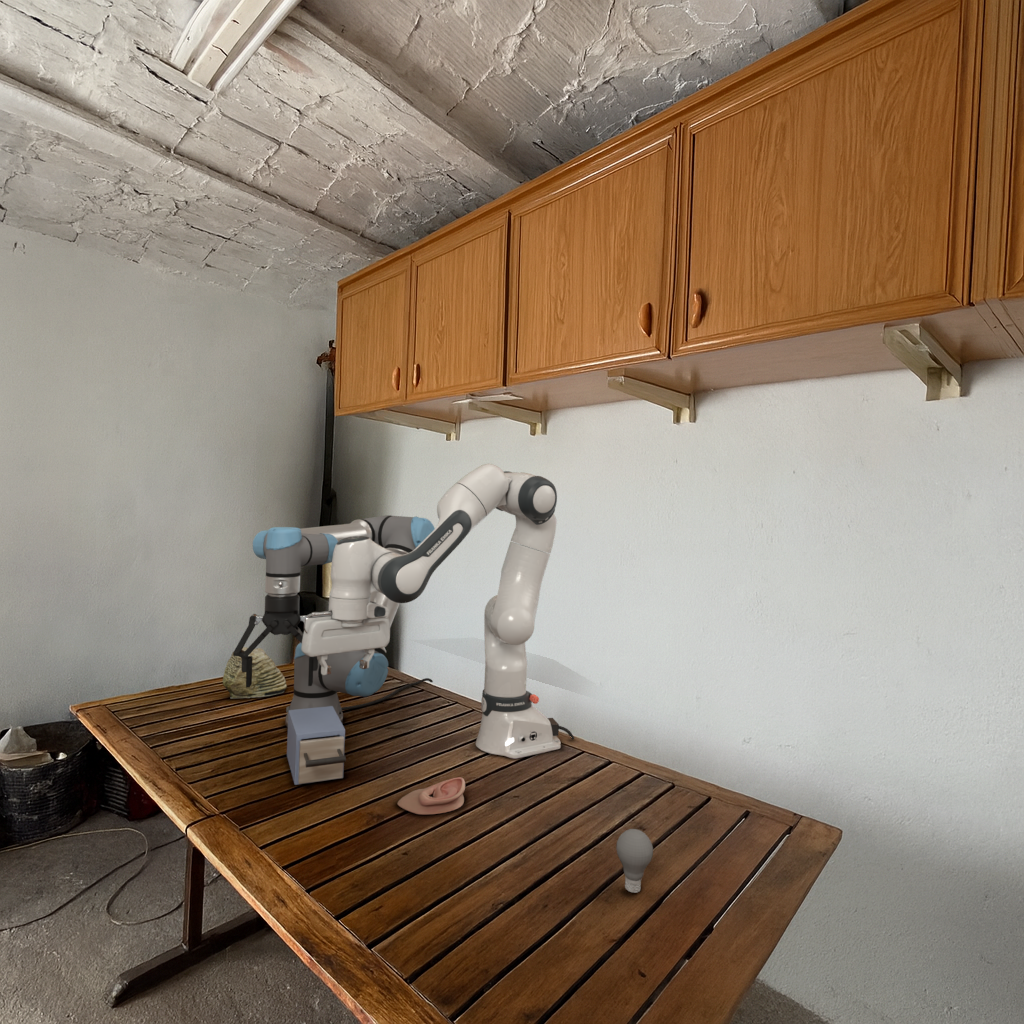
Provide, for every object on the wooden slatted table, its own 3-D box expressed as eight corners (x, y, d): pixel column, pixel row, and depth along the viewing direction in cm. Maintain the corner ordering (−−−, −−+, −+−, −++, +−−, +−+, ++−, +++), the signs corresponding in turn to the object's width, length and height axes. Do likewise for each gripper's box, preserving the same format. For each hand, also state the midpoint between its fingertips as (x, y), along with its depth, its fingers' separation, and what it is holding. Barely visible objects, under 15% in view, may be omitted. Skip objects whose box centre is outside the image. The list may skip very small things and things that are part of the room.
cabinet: (343, 778, 143) (345, 729, 143) (294, 785, 139) (296, 735, 138) (330, 749, 158) (332, 705, 158) (286, 755, 154) (288, 710, 154)
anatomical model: (392, 791, 129) (412, 768, 140) (391, 810, 129) (411, 786, 140) (454, 800, 126) (470, 776, 137) (454, 820, 126) (469, 794, 137)
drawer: (347, 789, 135) (349, 747, 135) (302, 796, 132) (303, 753, 131) (330, 751, 155) (332, 714, 155) (291, 756, 151) (292, 718, 151)
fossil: (218, 695, 195) (220, 647, 195) (278, 685, 208) (279, 640, 207) (228, 703, 189) (230, 653, 188) (289, 692, 201) (290, 645, 201)
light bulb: (610, 879, 108) (613, 822, 108) (644, 879, 109) (647, 822, 109) (619, 902, 102) (622, 840, 102) (655, 901, 103) (658, 840, 103)
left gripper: (220, 596, 140) (218, 691, 141) (337, 596, 145) (334, 688, 146) (228, 591, 147) (226, 681, 148) (339, 591, 153) (336, 678, 153)
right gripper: (312, 615, 131) (308, 681, 131) (395, 608, 145) (391, 668, 145) (298, 610, 135) (294, 674, 135) (380, 604, 150) (376, 662, 150)
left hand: (279, 685), depth 147 cm, fingers open, 13 cm apart
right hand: (345, 671), depth 140 cm, fingers open, 8 cm apart
